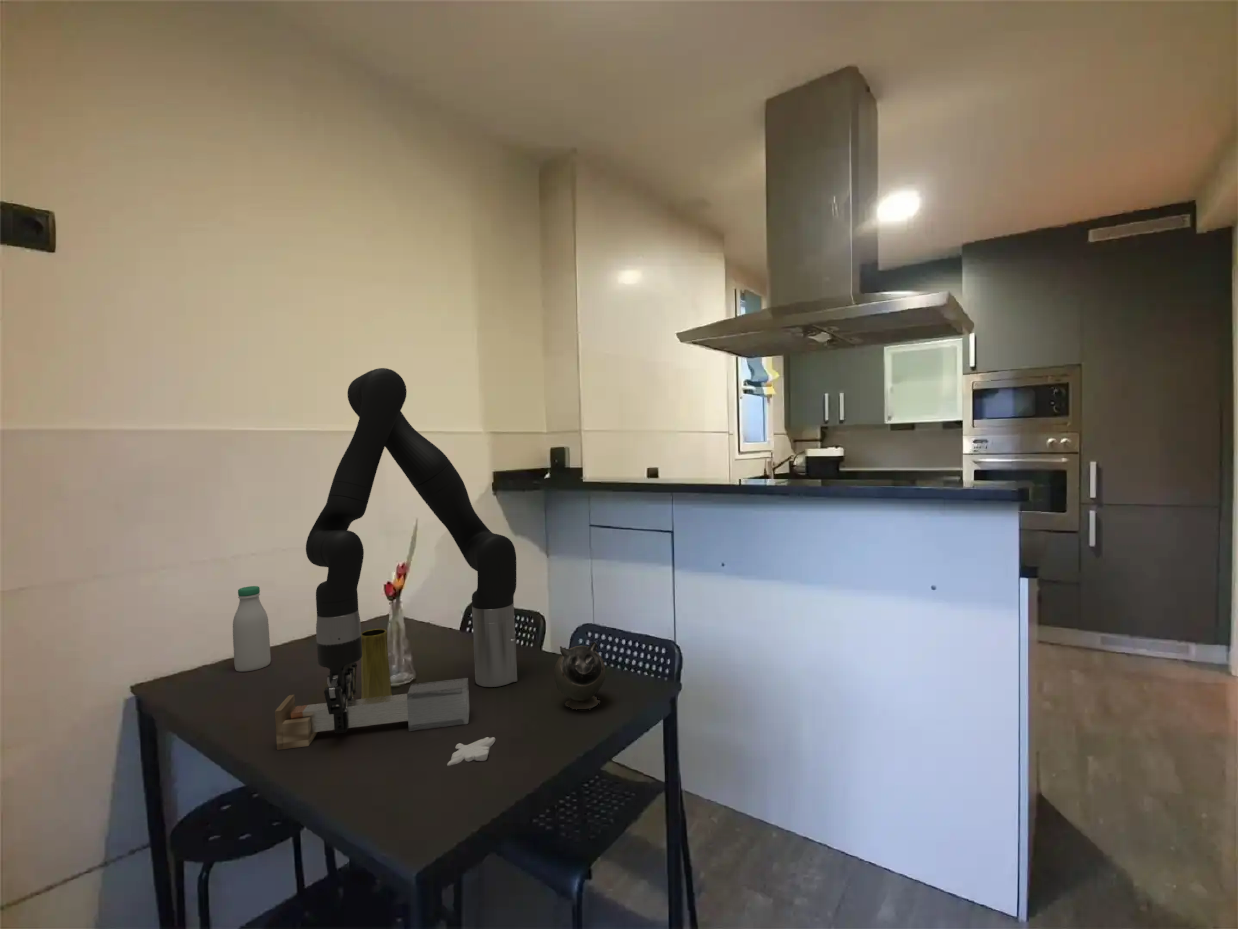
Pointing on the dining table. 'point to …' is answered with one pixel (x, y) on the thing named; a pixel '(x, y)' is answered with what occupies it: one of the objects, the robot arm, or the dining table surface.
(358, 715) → the white orange-tipped bar
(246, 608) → the milk bottle
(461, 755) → the acanthus leaf ornament
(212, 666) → the dining table surface
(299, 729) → the socket
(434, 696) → the sleeve
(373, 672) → the vase
